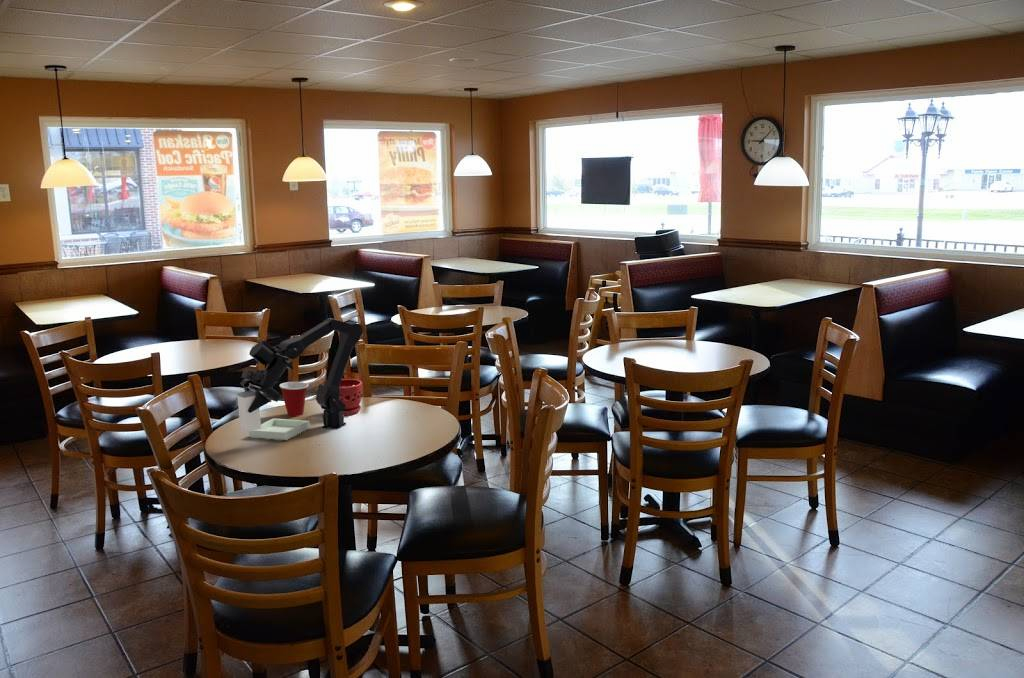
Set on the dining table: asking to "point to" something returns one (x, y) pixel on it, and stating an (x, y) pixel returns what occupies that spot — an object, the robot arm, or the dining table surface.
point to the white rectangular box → (248, 419)
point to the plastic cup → (294, 397)
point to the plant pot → (351, 395)
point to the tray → (280, 429)
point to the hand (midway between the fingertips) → (245, 410)
